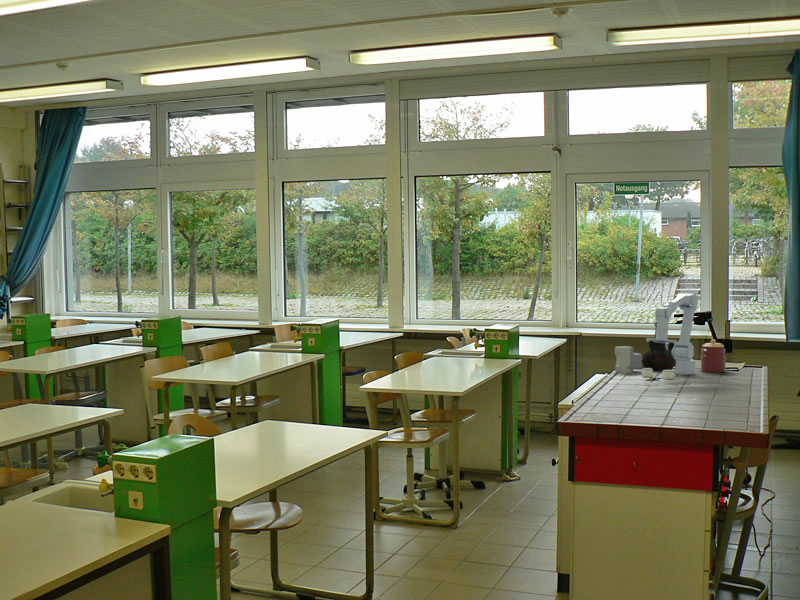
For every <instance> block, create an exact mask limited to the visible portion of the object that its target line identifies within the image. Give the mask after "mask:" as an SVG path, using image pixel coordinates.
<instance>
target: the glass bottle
mask: <svg viewBox="0 0 800 600" xmlns="http://www.w3.org/2000/svg"><path fill="white" fill-rule="evenodd" d="M654 326H655V331H654V338H656V328H657V321H655V323H654ZM658 342H665V341H658ZM658 342H654V343H655V344H654V356H652V355H651V350H650V349H649V350H647V351H646V352H644V353H643V355H642V359H644V361H642V366H643V368H651V369H653V371H655V372H662V370H672V371H673V368H674V367H676V359H674V357H673V356H672V352H671V353H670V356H669V358H667V353H668V348H667V347H666V343H658Z"/></svg>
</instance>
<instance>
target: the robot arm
mask: <svg viewBox="0 0 800 600" xmlns="http://www.w3.org/2000/svg"><path fill="white" fill-rule="evenodd" d="M698 303H699V298H698V295H697V293H680V292H679V293H677V294H676V296H675V298H674V299H673V300H668V301H667V302H666V303H665V304H663V305H662V306H658V307H657V308H656V309H655V312H654V314H655V322H657V328H656V327H655V329H656V338H655V337H654V338H653V337H646V342H648V346H649V350H651V355H652V356H654V344H655V343H654V342H658V341H665V342H658V343H665V344H667V350H668V353H667V358H669V356H670V353H672V356H673V357H674V359H676V364H675V374H676V375H696V363H695V360H694V359H693V357H694V355H695V353H694V352H695V350H694V349H695V346H694V345H693V344H692V343H691V342H690V341H691V340H690V339H691V333H692V327H693V321H694V316H695V311H696V310H697V309H698ZM678 308H679V309H680V310H681V311H682V312H683V316H682V323H681V327H680V328H681V329H680V334H679V339H678V340H677V339H668V335H669V325H670V323H669V321H670V320H669V319H670V318H671V317H672V315H673V314H674V312H676V311H677V310H678Z"/></svg>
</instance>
